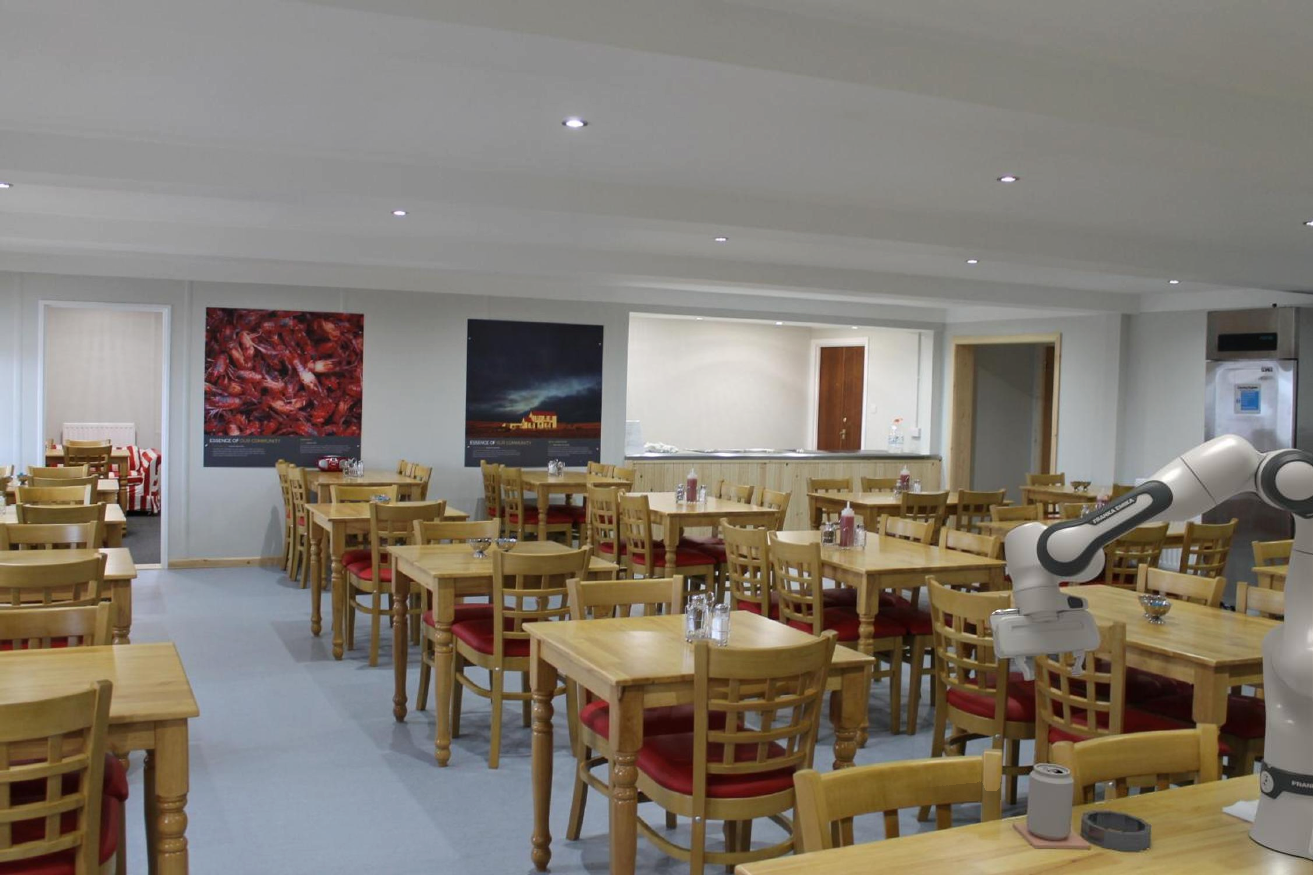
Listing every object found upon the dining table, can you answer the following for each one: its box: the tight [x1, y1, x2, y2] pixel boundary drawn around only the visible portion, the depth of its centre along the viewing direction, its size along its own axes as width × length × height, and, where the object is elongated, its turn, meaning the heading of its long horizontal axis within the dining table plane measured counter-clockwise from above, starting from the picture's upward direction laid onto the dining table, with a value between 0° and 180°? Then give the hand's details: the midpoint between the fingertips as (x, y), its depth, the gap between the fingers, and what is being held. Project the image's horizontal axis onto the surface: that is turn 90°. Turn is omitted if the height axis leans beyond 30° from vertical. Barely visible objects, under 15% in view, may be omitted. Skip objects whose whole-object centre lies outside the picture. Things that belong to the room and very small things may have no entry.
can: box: [1026, 762, 1075, 840], centre depth 202 cm, size 8×8×12 cm
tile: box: [1012, 822, 1092, 850], centre depth 202 cm, size 10×10×1 cm
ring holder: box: [1080, 810, 1152, 852], centre depth 203 cm, size 12×12×3 cm
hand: (1053, 677), depth 215 cm, fingers open, 8 cm apart
